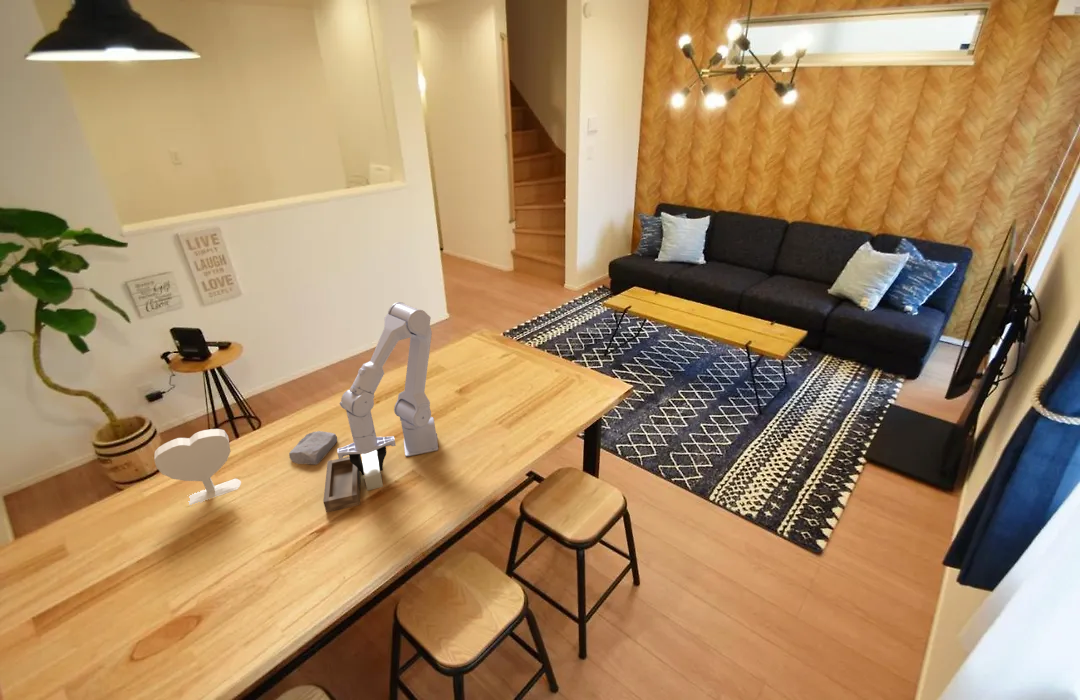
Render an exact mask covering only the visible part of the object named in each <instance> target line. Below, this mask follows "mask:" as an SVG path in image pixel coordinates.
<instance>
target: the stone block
mask: <svg viewBox="0 0 1080 700" xmlns="http://www.w3.org/2000/svg"><path fill="white" fill-rule="evenodd" d="M337 442H338V436H337V435H336V433H333V432H328V431H322V430H321V431H320V430H318V431H312V432H310V433H307V434H306V435H304V437H303V438H302V439H300V440H299V442H297V444H296V445H294V447H293V449H291V450H290V452H289V455H288V456H289V459H290V460H291V462H292V463H295V464H297V465H315V466H316V465H318V464H320V462H321V461H322V460H323V459H324V458H325V456H326V455H328V453H329V452H330V450H332V449H333V447H334V446H335V445H336V444H337Z"/></svg>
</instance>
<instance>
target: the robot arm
mask: <svg viewBox="0 0 1080 700" xmlns="http://www.w3.org/2000/svg"><path fill="white" fill-rule="evenodd" d="M432 333H433V331H432V328H431V316H430V315H429V314H428V313H427V311H425V310H423V309H418V308H417V307H413V306H411V305H409V304H406V303H405V302H401V301H397V302H396V301H395V302H394V303H393V304H392V305H391V306H390V307H389V309H388V311H387V314H386V315H385V317H384V326H383V330H382V332H381V334H380V337H379V339H378V342H377V343H376V347H375V349H374V350H373V353H372V356H371V358H370V360H369V361H367V362H364V363H362V365H361V367H360V368H359V369H358V371H357V375H356V377H355V379H354V380H353V383H352V384H351V386H350V388H349V389H348V390H347V389H346V391H344V393H343V394H342V396H341V398H340V399H341V400H340V402H339V406H340V408H342V409H344V410H345V412H346V415H347V420H348V424H349V428H350V432H351V435H352V440H353V442H351V443H350V444H347V445H345V446H343V447H338V448H337V450H336V451H337V457H338V459H340V458H344V457H345V456H346V457H347V456H348V457H349V458H350V462H351V463H352V464H354V465H355V466H356V467H357V468H358V469H359V471H360V475H361V476H364V470H363V462H362V454H367V453H370V452H373V451H375V450H377V457H378V460H379V467H380V471H381V472H383V470H384V467H383V466H384V462H385V461H384V460H385V458H386V455H387V447H389V446H391V447H395V446H396V440H395V436H394V435H391V436H377V434H376V430H375V429H376V428H375V425H374V419H373V416H372V412H371V411H372V409H373V408H374V405H375V402H374V399H375V392H376V391H377V389H378V388H379V387H378V386H379V385H380V383H381V381H382V380H383V377H384V375H385V372H384V368H383V367H384V365H385V364H386V362H387V360H388V359H389V357H390V355H391V354H392V352H393V350H394V349H395V348H396V346H397V344H398V342H399V341H402V340H404V339H408V338H410V339H409V347H408V356H407V364H406V365H407V366H406V375H405V384H404V390H403V391H401V392H400V393H398V396H397V400H396V402H395V404H394V406H393V407H394V408H393V411H394V414H395V415H396V416H397V417H399V420H400V423H401V429H402V435H403V446H404V456H405V457H411V456H416V455H421V454H427V453H432V452H437V451H439V444H438V439H439V437H438V432H437V431H436V423H435V420H434V417H433V416H432V411H431V407H430V406H431V402H430V399H429V398H428V396H427V395H426V392H425V390H426V383H427V373H428V365H429V359H430V351H431V342H432Z"/></svg>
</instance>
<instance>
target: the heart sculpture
mask: <svg viewBox="0 0 1080 700" xmlns="http://www.w3.org/2000/svg"><path fill="white" fill-rule="evenodd" d="M230 454H231V444H230V438H229V435H228V434H227V432H226V431H225V429H220V428H211V429H203V430H200V431H197V432H195V433H194V434H192V435H191V436H190V437H176V438H174V439H171V440H169V441H167V442H165V443H163V444H162V445H160V446H159V447H157V449H155V451H154V456H153V457H154V464H155V467H156V469H157V470H158V471H159V472H160V473H161V474H162V475H164V476H166V477H168V478H171V479H172V480H176V481H177V480H179V481H184V482H201V483H202V484H203V486H204V489H205V490H204V489H201V490H199V491H200V492H199V491H196V492H197V493H196V492H194V494H193V493H191V494H192V495H190V494H189V495H190V496H189V498H190V501H188V502H189V505H192V504H195V503H198V502H200V503H199V504H201V503H204V502H206V501H205V500H207V501H209V500H211V499H210V498H212V499H214V498H213V497H215V498H217V497H216V496H218V497H221V496H222V495H226V494H228V493H231V492H233V491H237V490H239V488H240V486H241V484H242V481H241V480H240V479H238V478H233V479H230V480H227V481H225V482H221V483H219V484H216V485H215V484H214V482H213V480H212V477H213V476H214V475H215V474H216V473H217V472H218V471H219V470H221V468H222V467H223V466H224V465H225V464H226V463H227V461H228V459H229V457H230ZM208 499H209V500H208ZM203 501H204V502H203Z"/></svg>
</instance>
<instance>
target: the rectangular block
mask: <svg viewBox="0 0 1080 700" xmlns="http://www.w3.org/2000/svg"><path fill="white" fill-rule="evenodd" d="M361 460H362V463H363V470H364V475H363V477H364V482H365V486H366V490H367V491H370V490H375V489H379V488H382V487H383V488H384V485H383V484H384V483H383V479H382V478H383V477H382V471H380V467H379V460H378V457H377V450H375V451H373V452H370V453H367V454H361Z"/></svg>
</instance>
